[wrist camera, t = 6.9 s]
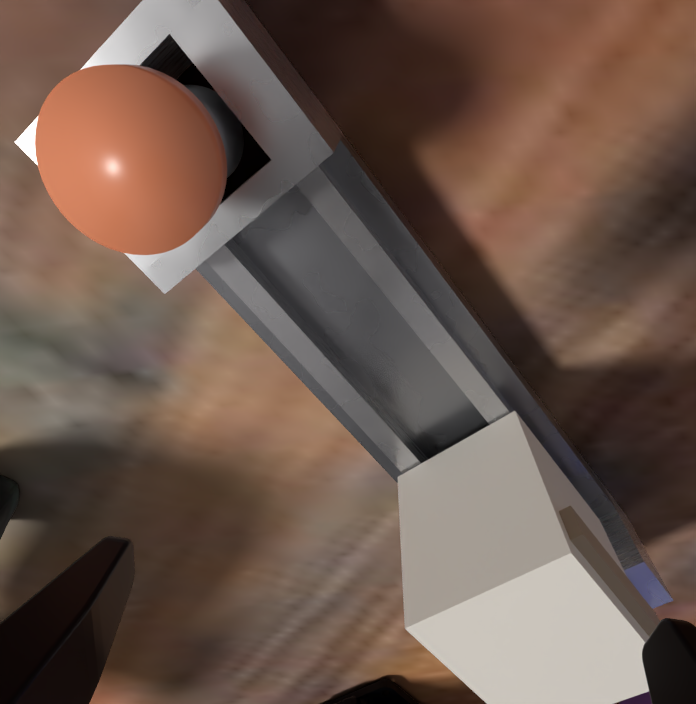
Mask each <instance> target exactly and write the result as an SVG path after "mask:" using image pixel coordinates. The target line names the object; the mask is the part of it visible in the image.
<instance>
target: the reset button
mask: <svg viewBox="0 0 696 704" xmlns="http://www.w3.org/2000/svg"><path fill="white" fill-rule="evenodd" d="M243 148H244V136H243V130H242V126H241V123H240V120H239V119H238V118H237V117H236V115H235V114H234V113H233V112H232V111H231V109H230V108H229V107H228V106H227V104H226V103H225V102H224V101H223V99H222V98H221V97H220V96H219V94H218V93H216V92H215V91H213V90H211V89H209V88H206V87H203V86H199V85H183V84H181V83H180V82H178V81H177V80H175V79H174V78H172V77H170V76H168V75H166V74H164V73H162V72H160V71H157V70H155V69H152V68H149V67H144V66H139V65H128V64H114V65H98V66H92V67H88V68H84V69H81V70H79V71H77V72H75V73H72V74H71V75H69V76H68V77H66V78H65V79H63V80H62V81H61V82H60V83H59V84H58V85H57V86H56V87H55V88H54V89H53V90H52V91H51V93H50V94H49V95H48V97H47V98H46V100H45V102H44V104H43V106H42V108H41V111H40V114H39V116H38V120H37V125H36V130H35V151H36V159H37V164H38V168H39V171H40V175H41V178H42V180H43V183H44V185H45V187H46V189H47V192H48V193H49V195H50V197H51V198H52V200H53V202H54V203H55V205H56V206H57V207H58V209H59V210H60V211H61V213H62V214H63V215H64V216H65V217H66V218H67V220H68V221H69V222H70V223H71V224H72V225H74V226H75V227H76V228H77V229H78V230H79V231H80V232H82V233H83V234H85V235H86V236H87V237H89V238H90V239H92V240H94V241H95V242H97V243H99V244H101V245H103V246H105V247H108V248H110V249H113V250H116V251H119V252H122V253H128V254H133V255H154V254H159V253H164V252H167V251H170V250H173V249H175V248H177V247H179V246H181V245H183V244H185V243H186V242H187V241H189V240H190V239H191V238H193V237H194V236H195V235H196V234H197V233H198V232H199V231H200V230H201V229H202V228H203V227H204V226H205V225H206V224H207V223H208V222H209V221H210V220H211V218H212V217H213V215H214V214H215V213H216V211H217V209H218V207H219V205H220V203H221V201H222V198H223V195H224V191H225V187H226V180H227V177H229V176H230V175H231V174H232V173H233V172H234V170H235V169H236V168H237V166H238V164H239V162H240V160H241V157H242V153H243Z"/></svg>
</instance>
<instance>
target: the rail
mask: <svg viewBox="0 0 696 704" xmlns="http://www.w3.org/2000/svg"><path fill="white" fill-rule="evenodd" d="M192 63H193V64H194V65H195V66H196V67H197V68H198V70H199V71H200V72H201V73H202V75H203V76H204V77H205V78H206V80H207V81H208V82H209V83H210V85H211V86H212V87H213V88H214V89H215V91H216V92H217V93H218V94H219V96H220V97H221V98H222V99H223V101H224V102H225V103H226V104H227V106H228V107H229V108H230V109H231V111H232V112H233V113H234V114H235V115H236V117H237V118H238V119H239V120H240V122H241V123H242V124H243V125H244V127H245V128H246V129H247V130H248V132H249V133H250V134H251V135H252V136H253V138H254V139H255V140H256V141H257V143H258V144H259V145H260V146H261V148H262V149H263V150H264V151H265V153H266V154H267V155H268V156H269V157H270V160H269V161H268V162H267V163H266V164H265V165H263V166H262V167H261V168H260V169H259V170H258V171H257V172H255V173H254V174H253V175H252V176H251V177H250V178H249V179H247V180H246V181H245V182H244V183H243V184H242V185H241V186H239V187H238V188H237V189H236V190H235V191H234V192H232V193H231V194H230V195H229V196H228V197H227V198H226V199H224V200H223V201H222V202H221V203H220V205H219V207H218V209H217V211H216V213H215V214H214V215H213V217H212V218H211V220H210V221H209V222H208V223H207V224H206V225H205V226H204V227H203V228H202V229H201V230H200V231H199V232H198V233H197V234H196V235H195V236H194V237H193V238H191V239H190V240H189V241H187V242H186V243H185V244H183V245H181V246H179V247H177V248H175V249H173V250H170V251H167V252H164V253H159V254H154V255H133V254H128V253H125V254H126V255H127V256H128V257H129V258H130V259H131V260H132V261H133V262H134V263H135V264H136V265H137V266H138V267H139V268H140V269H141V270H142V271H143V272H144V273H145V274H146V276H147V277H148V278H149V279H150V280H151V281H152V282H153V283H154V284H155V285H156V286H157V287H158V288H159V289H160V290H161V291H162V292H163V293H164V294H165V293H167V292H168V291H169V290H170V289H171V288H173V287H174V286H175V285H176V284H177V283H179V282H180V281H181V280H182V279H183V278H185V277H186V276H187V275H188V274H189V273H191V272H192V271H193V270H194V269H195V268H196V270H197V271H198V272H199V273H200V274H201V275H202V276H203V277H204V278H205V279H206V280H207V281H208V282H209V283H210V284H211V285H212V287H213V288H214V289H215V290H216V291H217V292H218V293H219V294H220V295H221V296H222V297H223V298H224V299H225V300H226V301H227V302H228V303H229V305H230V306H231V307H232V308H233V309H234V310H235V311H236V312H237V313H238V314H239V315H240V316H241V317H242V318H243V319H244V320H245V322H246V323H247V324H248V325H249V326H250V327H251V328H252V329H253V330H254V331H255V332H256V333H257V334H258V335H259V336H260V337H261V339H262V340H263V341H264V342H265V343H266V344H267V345H268V346H269V347H270V348H271V349H272V350H273V351H274V352H275V353H276V354H277V356H278V357H279V358H280V359H281V360H282V361H283V362H284V363H285V364H286V365H287V366H288V367H289V368H290V369H291V370H292V371H293V373H294V374H295V375H296V376H297V377H298V378H299V379H300V380H301V381H302V382H303V383H304V384H305V385H306V386H307V387H308V388H309V390H310V391H311V392H312V393H313V394H314V395H315V396H316V397H317V398H318V399H319V400H320V401H321V402H322V403H323V404H324V405H325V407H326V408H327V409H328V410H329V411H330V412H331V413H332V414H333V415H334V416H335V417H336V418H337V419H338V420H339V421H340V422H341V424H342V425H343V426H344V427H345V428H346V429H347V430H348V431H349V432H350V433H351V434H352V435H353V436H354V437H355V438H356V439H357V441H358V442H359V443H360V444H361V445H362V446H363V447H364V448H365V449H366V450H367V451H368V452H369V453H370V454H371V455H372V456H373V458H374V459H375V460H376V461H377V462H378V463H379V464H380V465H381V466H382V467H383V468H384V469H385V470H386V471H387V472H388V473H389V474H390V476H391V477H392V478H393V479H394V480H395V481H396V482H397V483H398V476H400V475H402V474H404V473H405V472H407V471H409V470H411V469H413V468H414V467H416V466H418V465H420V464H421V463H423V462H425V461H427V460H428V459H430V458H432V457H434V456H436V455H437V454H439V453H441V452H443V451H444V450H446V449H448V448H450V447H451V446H453V445H455V444H457V443H459V442H460V441H462V440H464V439H466V438H467V437H469V436H471V435H473V434H474V433H476V432H478V431H480V430H481V429H483V428H485V427H487V426H489V425H490V424H492V423H494V422H496V421H497V420H499V419H501V418H503V417H504V416H506V415H508V414H510V413H512V412H513V411H516V412H517V414H518V415H519V416H520V417H521V419H522V420H523V421H524V423H525V424H526V425H527V427H528V428H529V429H530V430H531V432H532V433H533V434H534V436H535V437H536V438H537V439H538V441H539V442H540V443H541V445H542V446H543V447H544V449H545V450H546V451H547V452H548V454H549V455H550V456H551V458H552V459H553V460H554V462H555V463H556V464H557V465H558V467H559V468H560V469H561V471H562V472H563V473H564V475H565V476H566V477H567V478H568V480H569V481H570V482H571V484H572V485H573V486H574V487H575V489H576V490H577V491H578V493H579V494H580V495H581V497H582V498H583V499H584V500H585V502H586V503H587V504H588V506H589V507H590V508H591V510H592V511H593V512H594V513H595V515H596V516H597V517H598V519H599V520H600V522H601V524H602V526H603V528H604V530H605V532H606V534H607V536H608V539H609V541H610V543H611V545H612V547H613V549H614V551H615V553H616V555H617V557H618V559H619V561H620V563H621V565H622V568H623V570H624V572H625V574H626V576H627V578H628V579H629V580H630V581H631V583H632V584H633V585H634V586H635V588H636V589H637V590H638V591H639V593H640V594H641V595H642V597H643V598H644V599H645V600H646V602H647V603H648V604H649V605H650V607H651V608H652V609H653V608H655V607H658V606H660V605H663V604H665V603H668V602H670V601H673V599H672V597H671V595H670V593H669V592H668V590H667V588H666V586H665V584H664V583H663V581H662V579H661V577H660V575H659V573H658V572H657V570H656V568H655V566H654V564H653V562H652V561H651V559H650V557H649V555H648V553H647V551H646V550H645V548H644V546H643V544H642V542H641V541H640V539H639V537H638V535H637V533H636V531H635V530H634V528H633V526H632V524H631V522H630V520H629V519H628V517H627V516H626V515H625V513H624V512H623V511H622V509H621V508H620V507H619V505H618V504H617V502H616V501H615V500H614V498H613V497H612V496H611V494H610V493H609V492H608V490H607V489H606V488H605V486H604V485H603V484H602V482H601V481H600V480H599V478H598V477H597V475H596V474H595V473H594V471H593V470H592V469H591V467H590V466H589V465H588V463H587V462H586V461H585V459H584V458H583V457H582V455H581V454H580V453H579V451H578V450H577V448H576V447H575V446H574V444H573V443H572V442H571V440H570V439H569V438H568V436H567V435H566V434H565V432H564V431H563V430H562V428H561V427H560V426H559V424H558V423H557V421H556V420H555V419H554V417H553V416H552V415H551V413H550V412H549V411H548V409H547V408H546V407H545V405H544V404H543V403H542V401H541V400H540V399H539V397H538V396H537V395H536V393H535V392H534V390H533V389H532V388H531V386H530V385H529V384H528V382H527V381H526V380H525V378H524V377H523V376H522V374H521V373H520V372H519V370H518V369H517V368H516V366H515V365H514V363H513V362H512V361H511V359H510V358H509V357H508V355H507V354H506V353H505V351H504V350H503V349H502V347H501V346H500V345H499V343H498V342H497V341H496V339H495V338H494V336H493V335H492V334H491V332H490V331H489V330H488V328H487V327H486V326H485V324H484V323H483V322H482V320H481V319H480V318H479V316H478V315H477V314H476V312H475V311H474V309H473V308H472V307H471V305H470V304H469V303H468V301H467V300H466V299H465V297H464V296H463V295H462V293H461V292H460V291H459V289H458V288H457V287H456V285H455V284H454V282H453V281H452V280H451V278H450V277H449V276H448V274H447V273H446V272H445V270H444V269H443V268H442V266H441V265H440V264H439V262H438V261H437V260H436V258H435V257H434V255H433V254H432V253H431V251H430V250H429V249H428V247H427V246H426V245H425V243H424V242H423V241H422V239H421V238H420V237H419V235H418V234H417V233H416V231H415V230H414V228H413V227H412V226H411V224H410V223H409V222H408V220H407V219H406V218H405V216H404V215H403V214H402V212H401V211H400V210H399V208H398V207H397V206H396V204H395V203H394V202H393V200H392V199H391V197H390V196H389V195H388V193H387V192H386V191H385V189H384V188H383V187H382V185H381V184H380V183H379V181H378V180H377V179H376V177H375V176H374V175H373V173H372V172H371V170H370V169H369V168H368V166H367V165H366V164H365V162H364V161H363V160H362V158H361V157H360V156H359V154H358V153H357V152H356V150H355V149H354V148H353V146H352V145H351V143H350V142H349V141H348V139H347V138H346V137H345V135H344V134H343V133H342V131H341V130H340V129H339V127H338V126H337V125H336V123H335V122H334V121H333V119H332V118H331V116H330V115H329V114H328V112H327V111H326V110H325V108H324V107H323V106H322V104H321V103H320V102H319V100H318V99H317V98H316V96H315V95H314V94H313V92H312V91H311V89H310V88H309V87H308V85H307V84H306V83H305V81H304V80H303V79H302V77H301V76H300V75H299V73H298V72H297V71H296V69H295V68H294V67H293V65H292V64H291V62H290V61H289V60H288V58H287V57H286V56H285V54H284V53H283V52H282V50H281V49H280V48H279V46H278V45H277V44H276V42H275V41H274V40H273V38H272V37H271V35H270V34H269V33H268V31H267V30H266V29H265V27H264V26H263V25H262V23H261V22H260V21H259V19H258V18H257V17H256V15H255V14H254V13H253V11H252V10H251V9H250V7H249V6H248V4H247V3H246V2H245V0H143V1H142V2H141V3H140V4H139V5H138V6H137V7H136V8H135V9H134V11H133V12H132V13H131V14H130V15H129V16H128V17H127V18H126V19H125V21H124V22H123V23H122V24H121V25H120V26H119V27H118V28H117V29H116V31H115V32H114V33H113V34H112V35H111V36H110V37H109V38H108V39H107V41H106V42H105V43H104V44H103V45H102V46H101V47H100V48H99V49H98V50H97V52H96V53H95V54H94V55H93V56H92V57H91V58H90V59H89V60H88V62H87V63H86V64H85V65H84V66H83V67H82V68H81V69H84V68H88V67H92V66H98V65H114V64H128V65H139V66H144V67H149V68H152V69H155V70H157V71H160V72H162V73H164V74H166V75H168V76H170V77H172V78H174V79H175V80H176V79H177V78H178V77H179V76H180V75H181V74H182V73H183V72H184V71H185V70H186V69H187V68H188V67H189V66H190V65H191V64H192ZM81 69H80V70H81ZM37 120H38V117H37V118H36V119H35V120H34V121H33V123H32V124H31V125H30V126H29V127H28V128H27V129H26V130H25V131H24V133H23V134H22V135H21V136H20V137H19V138H18V139H17V140H16V141H15V143H16V144H17V145H18V146H19V147H20V148H21V149H22V150H23V151H24V152H25V153H26V154H27V155H28V156H29V157H30V158H31V159H32V160H33V161H34V162H35V163H36V164H37V159H36V151H35V130H36V125H37ZM37 165H38V164H37Z"/></svg>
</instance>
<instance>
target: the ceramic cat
mask: <svg viewBox="0 0 696 704" xmlns="http://www.w3.org/2000/svg"><path fill="white" fill-rule="evenodd" d="M18 501H19V490H18V485H17V483H16V482H14V481H12V480H10V479H8V478H6V477H4V476H1V475H0V539H1V537H2V535H3V533H4V531H5V528H6V526H7V524H8V522H9V521H10V519H11V517H12V515H13V513H14V511H15V509H16V507H17V505H18Z"/></svg>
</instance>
